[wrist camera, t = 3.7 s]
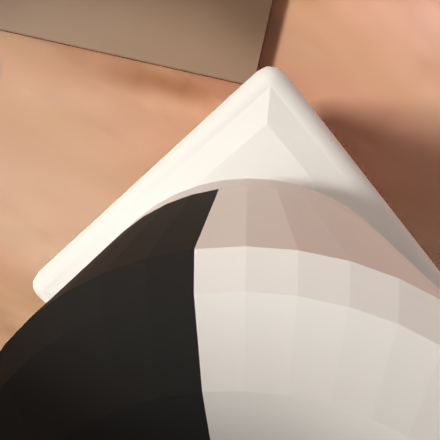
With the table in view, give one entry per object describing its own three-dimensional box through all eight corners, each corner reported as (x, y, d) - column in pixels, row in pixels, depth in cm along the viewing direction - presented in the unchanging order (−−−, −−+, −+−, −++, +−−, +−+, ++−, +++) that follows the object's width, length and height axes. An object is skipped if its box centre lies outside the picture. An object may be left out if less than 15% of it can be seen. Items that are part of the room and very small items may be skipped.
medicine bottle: (238, 328, 16) (208, 876, 4) (125, 208, 15) (-305, 532, 3) (376, 230, 14) (905, 713, 3) (261, 85, 13) (344, -122, 2)
